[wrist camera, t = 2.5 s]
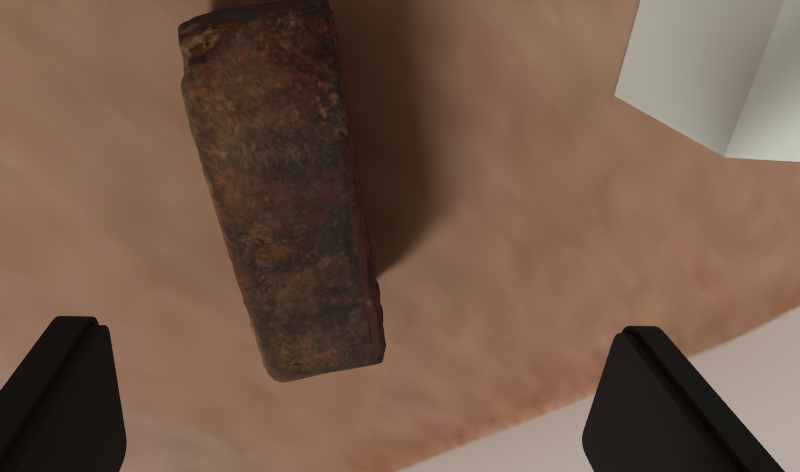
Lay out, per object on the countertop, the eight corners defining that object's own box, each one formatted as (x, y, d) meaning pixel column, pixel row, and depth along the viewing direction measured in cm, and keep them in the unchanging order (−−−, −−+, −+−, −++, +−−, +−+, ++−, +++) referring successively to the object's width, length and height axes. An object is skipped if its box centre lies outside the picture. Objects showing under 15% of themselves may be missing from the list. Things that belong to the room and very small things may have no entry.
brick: (379, 287, 22) (392, 368, 18) (276, 304, 22) (266, 391, 18) (330, -10, 17) (333, 8, 13) (195, 9, 17) (153, 34, 12)
